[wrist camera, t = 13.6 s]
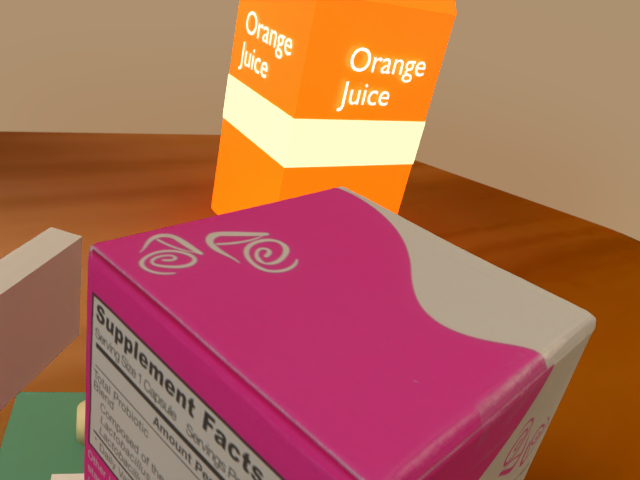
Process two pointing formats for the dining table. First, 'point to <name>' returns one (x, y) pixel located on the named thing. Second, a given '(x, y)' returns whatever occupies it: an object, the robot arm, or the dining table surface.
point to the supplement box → (317, 351)
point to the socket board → (45, 437)
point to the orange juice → (327, 98)
